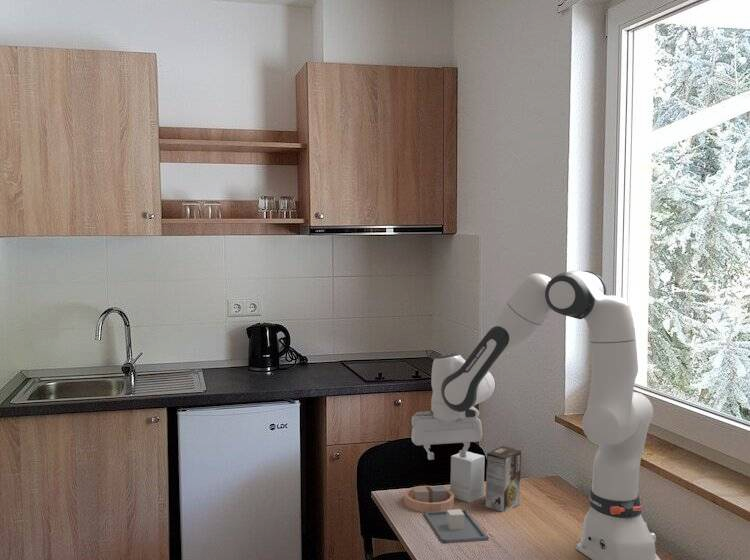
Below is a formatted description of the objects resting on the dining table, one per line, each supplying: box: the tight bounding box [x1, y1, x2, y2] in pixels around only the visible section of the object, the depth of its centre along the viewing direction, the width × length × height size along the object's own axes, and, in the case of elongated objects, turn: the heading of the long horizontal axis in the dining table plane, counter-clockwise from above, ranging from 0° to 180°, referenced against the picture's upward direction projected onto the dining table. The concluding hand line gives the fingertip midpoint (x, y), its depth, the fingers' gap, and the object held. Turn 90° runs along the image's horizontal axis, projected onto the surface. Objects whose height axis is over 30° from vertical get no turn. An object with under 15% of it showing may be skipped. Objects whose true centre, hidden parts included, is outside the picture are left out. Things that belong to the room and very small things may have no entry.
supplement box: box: [449, 450, 486, 503], centre depth 231 cm, size 7×7×13 cm
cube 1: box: [412, 486, 429, 502], centre depth 224 cm, size 4×4×4 cm
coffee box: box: [485, 445, 522, 513], centre depth 224 cm, size 9×6×16 cm
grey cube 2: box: [429, 485, 446, 503], centre depth 225 cm, size 4×4×4 cm
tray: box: [423, 509, 489, 544], centre depth 209 cm, size 18×12×1 cm, turn 11°
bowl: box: [403, 485, 455, 513], centre depth 225 cm, size 14×14×3 cm
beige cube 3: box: [446, 508, 465, 530], centre depth 209 cm, size 4×4×4 cm
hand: (446, 458), depth 225 cm, fingers open, 8 cm apart
